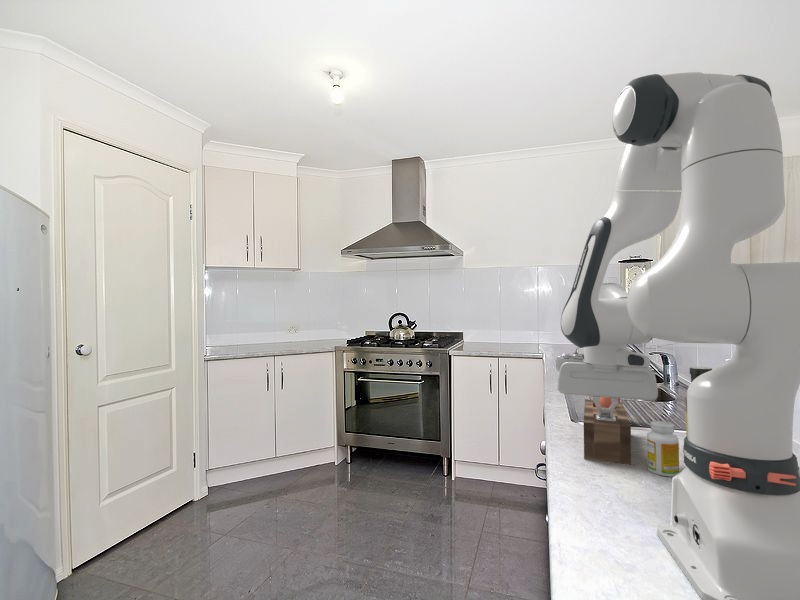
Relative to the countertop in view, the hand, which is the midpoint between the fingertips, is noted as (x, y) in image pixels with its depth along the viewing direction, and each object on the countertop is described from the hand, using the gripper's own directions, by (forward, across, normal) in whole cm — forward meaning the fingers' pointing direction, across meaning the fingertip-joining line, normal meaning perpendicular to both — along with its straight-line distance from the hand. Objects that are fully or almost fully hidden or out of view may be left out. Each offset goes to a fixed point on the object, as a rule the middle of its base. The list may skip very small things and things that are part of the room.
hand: (605, 416), depth 93 cm
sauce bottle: (+8, +19, +4) cm, 21 cm away
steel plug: (+7, 0, 0) cm, 7 cm away
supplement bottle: (+8, +10, -7) cm, 15 cm away
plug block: (+8, 0, +6) cm, 10 cm away
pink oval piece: (+4, 0, +12) cm, 13 cm away
